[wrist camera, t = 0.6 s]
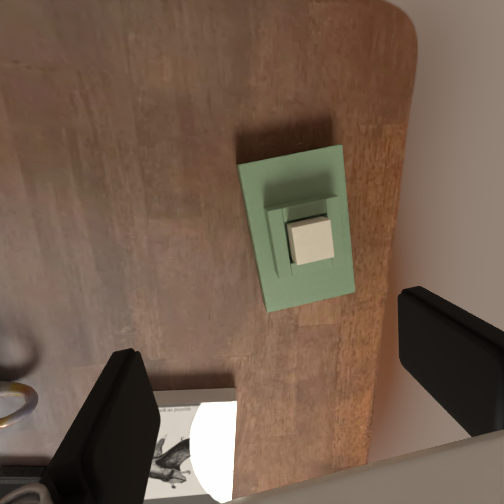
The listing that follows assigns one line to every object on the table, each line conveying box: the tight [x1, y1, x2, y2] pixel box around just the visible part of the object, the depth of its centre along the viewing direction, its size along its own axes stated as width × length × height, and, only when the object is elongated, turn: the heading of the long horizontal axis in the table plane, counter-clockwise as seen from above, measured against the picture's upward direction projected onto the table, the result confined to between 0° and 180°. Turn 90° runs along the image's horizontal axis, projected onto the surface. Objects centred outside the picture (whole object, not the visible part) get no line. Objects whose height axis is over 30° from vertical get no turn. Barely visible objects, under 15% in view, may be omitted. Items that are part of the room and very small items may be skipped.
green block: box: [237, 144, 355, 313], centre depth 26 cm, size 14×9×4 cm, turn 11°
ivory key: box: [286, 216, 334, 265], centre depth 24 cm, size 3×3×2 cm
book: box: [143, 388, 237, 504], centre depth 33 cm, size 23×14×2 cm, turn 177°
